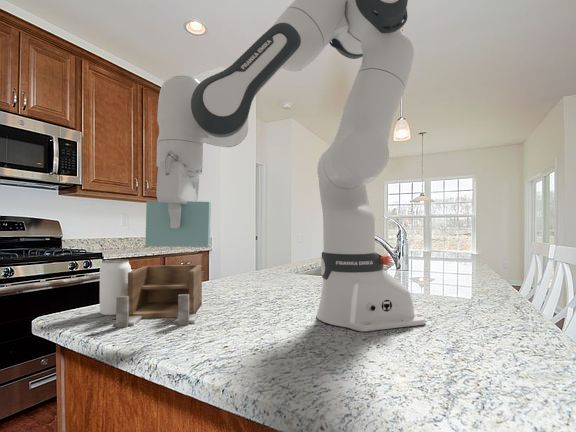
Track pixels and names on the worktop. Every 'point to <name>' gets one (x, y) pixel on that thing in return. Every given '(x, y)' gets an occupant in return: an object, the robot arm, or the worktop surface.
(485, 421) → the worktop surface
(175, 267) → the cabinet
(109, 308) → the can
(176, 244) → the door
